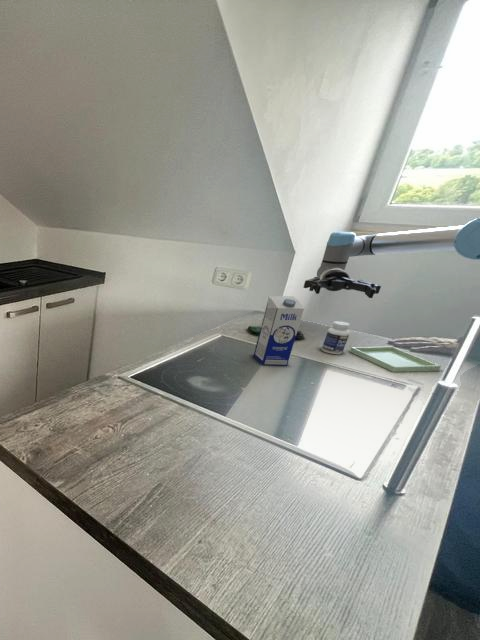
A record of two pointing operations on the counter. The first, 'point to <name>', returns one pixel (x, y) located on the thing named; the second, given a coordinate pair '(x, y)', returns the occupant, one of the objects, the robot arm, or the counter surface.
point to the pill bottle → (336, 338)
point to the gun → (256, 330)
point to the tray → (394, 359)
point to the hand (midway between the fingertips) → (344, 291)
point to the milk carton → (278, 330)
